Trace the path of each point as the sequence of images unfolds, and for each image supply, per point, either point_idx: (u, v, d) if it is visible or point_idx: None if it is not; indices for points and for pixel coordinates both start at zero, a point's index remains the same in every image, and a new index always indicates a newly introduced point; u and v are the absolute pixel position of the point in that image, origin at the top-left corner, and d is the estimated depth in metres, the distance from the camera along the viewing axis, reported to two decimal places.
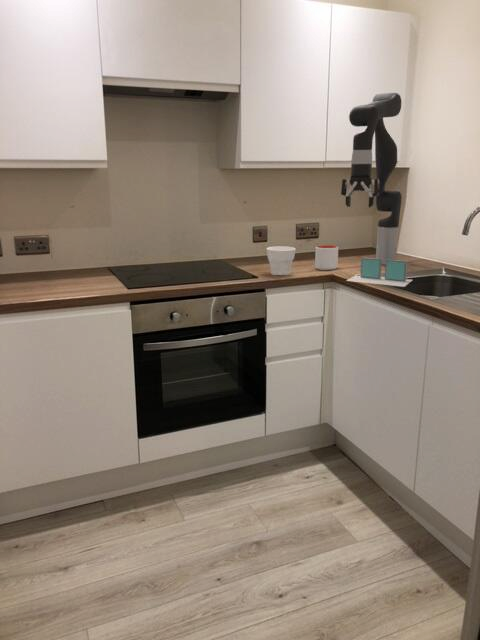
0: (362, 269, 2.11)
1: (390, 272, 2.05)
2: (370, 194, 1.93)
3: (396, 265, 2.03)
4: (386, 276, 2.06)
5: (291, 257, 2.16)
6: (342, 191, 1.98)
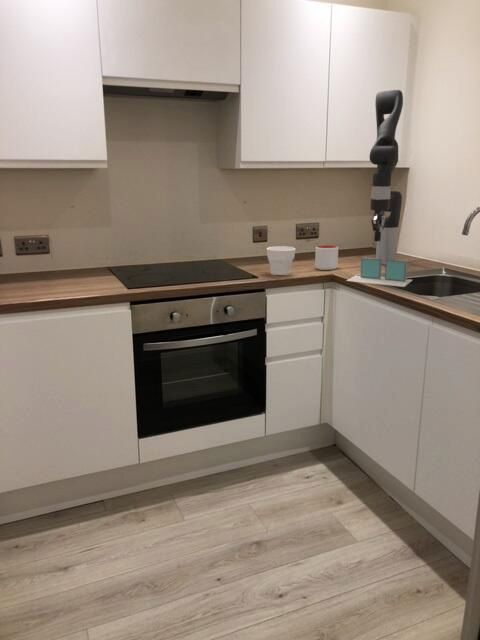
0: (362, 269, 2.11)
1: (390, 272, 2.05)
2: (381, 229, 2.11)
3: (396, 265, 2.03)
4: (386, 276, 2.06)
5: (291, 257, 2.16)
6: (379, 227, 2.08)
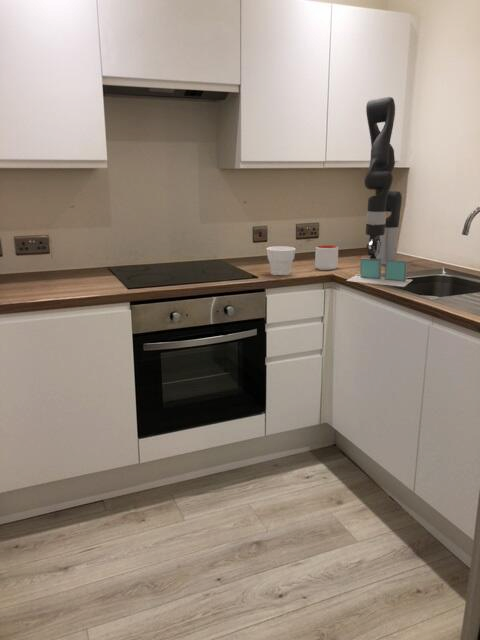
0: (361, 269, 2.10)
1: (390, 272, 2.05)
2: (377, 253, 2.10)
3: (396, 265, 2.03)
4: (386, 276, 2.06)
5: (291, 257, 2.16)
6: (374, 252, 2.07)
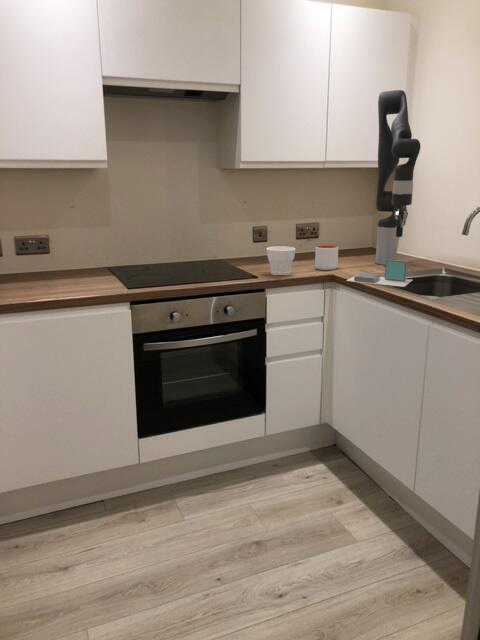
0: None
1: (390, 272, 2.05)
2: (403, 224, 2.06)
3: (396, 265, 2.03)
4: (386, 276, 2.06)
5: (291, 257, 2.16)
6: (401, 223, 2.03)
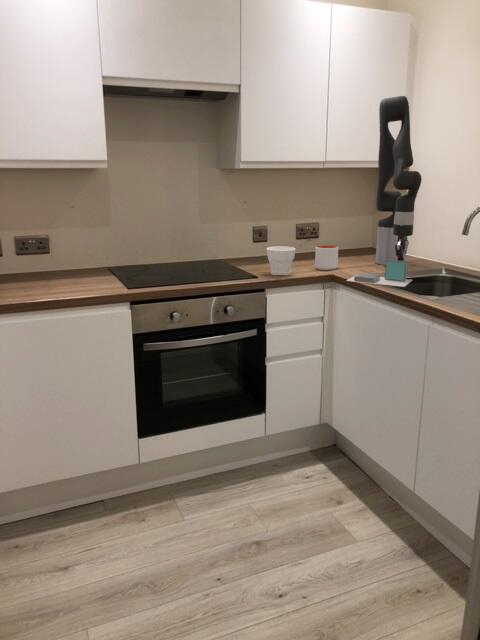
0: None
1: (390, 272, 2.05)
2: (404, 254, 2.08)
3: (396, 265, 2.03)
4: (386, 276, 2.06)
5: (291, 257, 2.16)
6: (402, 253, 2.05)
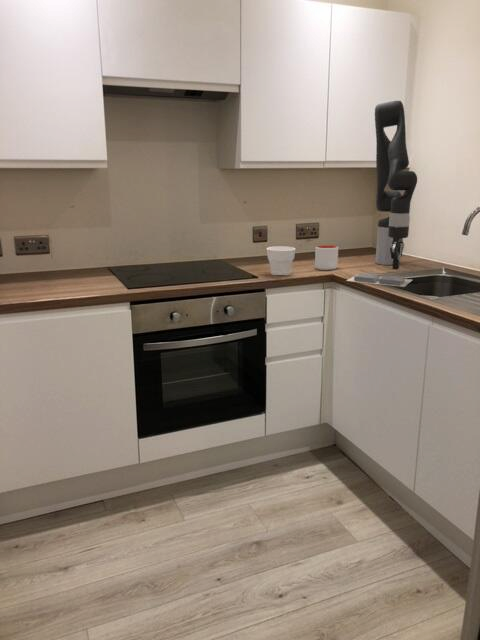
0: None
1: None
2: (399, 257, 2.02)
3: None
4: None
5: (291, 257, 2.16)
6: (398, 255, 1.99)
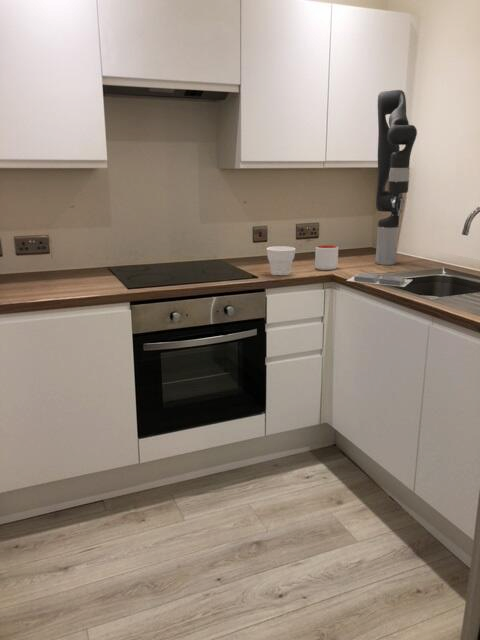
0: None
1: None
2: (399, 212, 2.03)
3: None
4: None
5: (291, 257, 2.16)
6: (398, 211, 2.00)
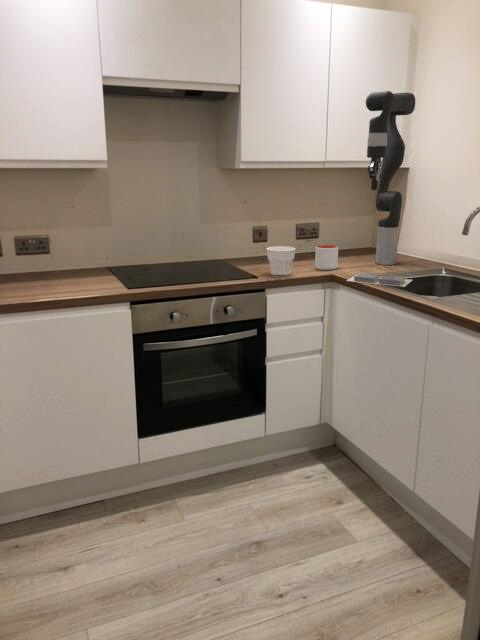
0: None
1: None
2: (378, 177, 2.10)
3: None
4: None
5: (291, 257, 2.16)
6: (376, 175, 2.07)
